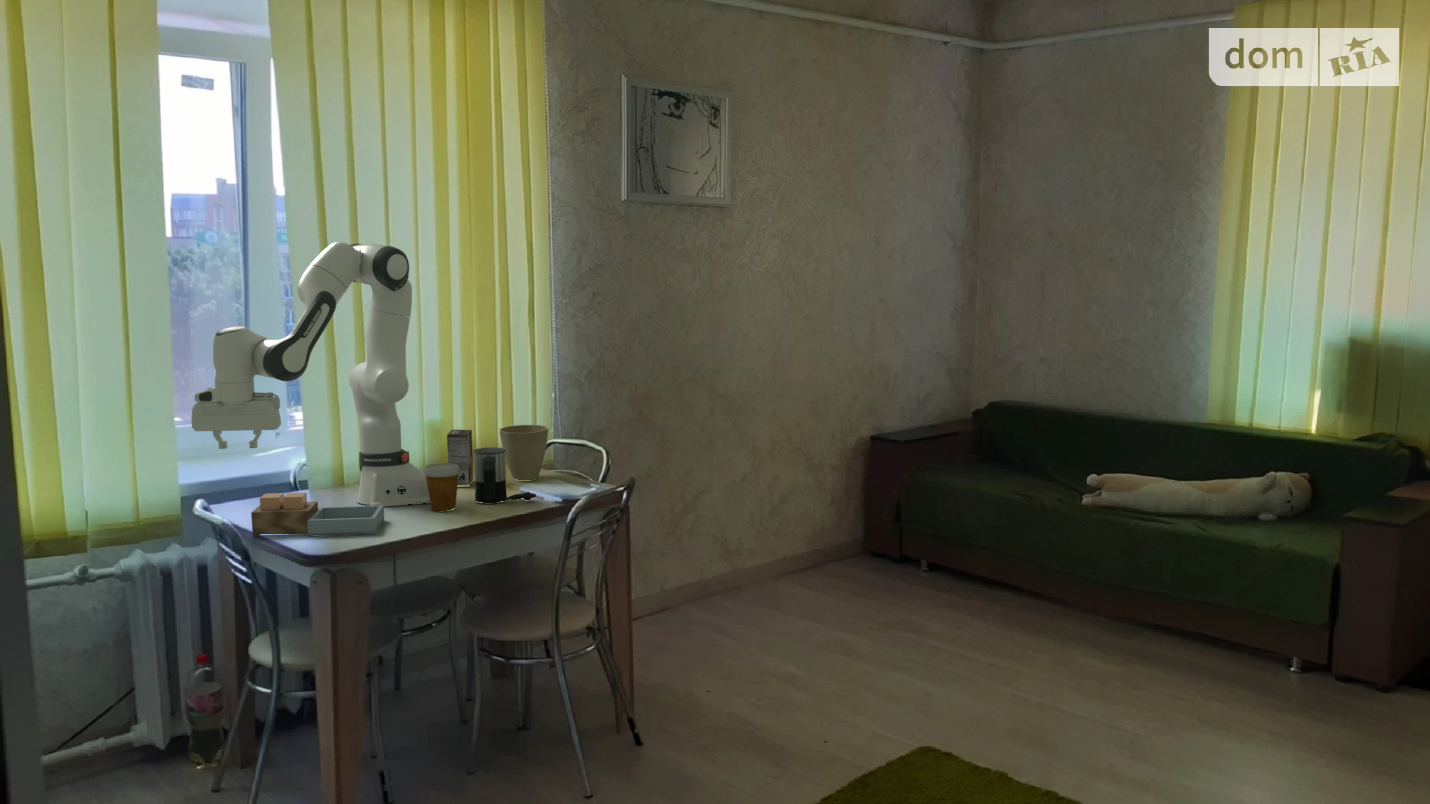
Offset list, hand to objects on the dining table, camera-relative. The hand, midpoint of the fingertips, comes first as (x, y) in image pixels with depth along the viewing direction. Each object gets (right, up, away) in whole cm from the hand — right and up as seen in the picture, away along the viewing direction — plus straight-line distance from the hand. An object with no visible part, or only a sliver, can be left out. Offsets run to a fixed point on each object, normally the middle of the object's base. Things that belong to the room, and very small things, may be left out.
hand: (238, 448), depth 263 cm
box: (+25, -21, +6) cm, 33 cm away
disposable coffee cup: (+44, -18, +26) cm, 54 cm away
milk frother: (+59, -17, +36) cm, 71 cm away
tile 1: (+7, -15, +3) cm, 17 cm away
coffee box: (+41, -14, +58) cm, 73 cm away
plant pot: (+59, -13, +65) cm, 89 cm away
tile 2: (+13, -15, +4) cm, 20 cm away
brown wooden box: (+10, -21, +4) cm, 24 cm away
